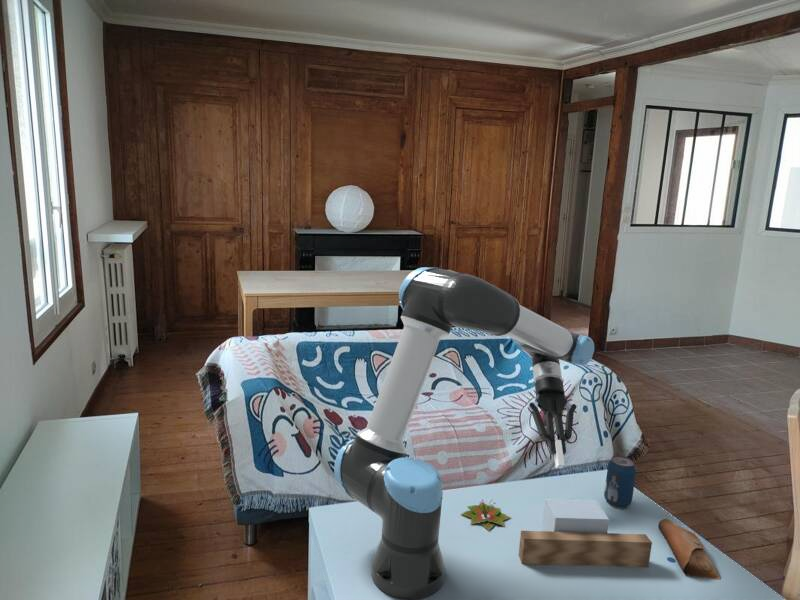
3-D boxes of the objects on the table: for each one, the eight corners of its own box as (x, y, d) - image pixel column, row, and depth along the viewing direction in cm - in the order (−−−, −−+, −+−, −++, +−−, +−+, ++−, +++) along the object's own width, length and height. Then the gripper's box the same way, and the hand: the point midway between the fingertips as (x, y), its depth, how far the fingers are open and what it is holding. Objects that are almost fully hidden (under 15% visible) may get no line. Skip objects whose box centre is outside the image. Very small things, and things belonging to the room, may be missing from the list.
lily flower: (451, 515, 142) (452, 499, 141) (481, 499, 150) (483, 483, 149) (489, 539, 133) (491, 521, 132) (519, 520, 142) (521, 503, 141)
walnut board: (521, 563, 124) (524, 538, 123) (518, 555, 127) (521, 530, 126) (648, 567, 125) (652, 542, 124) (642, 558, 128) (645, 534, 127)
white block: (551, 554, 128) (555, 517, 127) (541, 533, 136) (545, 498, 134) (604, 555, 129) (608, 519, 127) (591, 534, 137) (595, 500, 135)
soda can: (630, 499, 154) (636, 457, 152) (632, 512, 147) (638, 469, 145) (603, 493, 156) (608, 452, 154) (603, 506, 149) (609, 463, 147)
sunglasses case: (724, 580, 122) (712, 554, 121) (692, 591, 123) (679, 565, 123) (693, 532, 140) (681, 508, 139) (665, 542, 141) (653, 519, 140)
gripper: (528, 374, 154) (538, 460, 141) (576, 376, 154) (590, 462, 141) (521, 386, 160) (530, 470, 147) (567, 388, 161) (581, 472, 147)
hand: (560, 466), depth 144 cm, fingers closed
